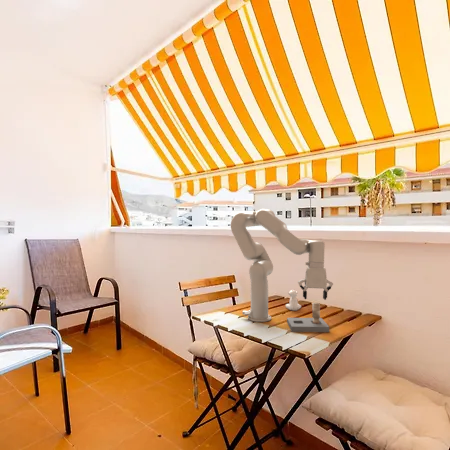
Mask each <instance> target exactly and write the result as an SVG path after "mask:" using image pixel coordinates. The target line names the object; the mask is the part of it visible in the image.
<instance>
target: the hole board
mask: <svg viewBox="0 0 450 450" xmlns="http://www.w3.org/2000/svg"><path fill="white" fill-rule="evenodd" d="M286 323H287V325H288V327H289V329H290V331H291V332H292V333H299V332H300V333H330V326H329V325H328V323H327V322H326V321H325V320H324V319H323V318H322V317H320V318H319V324H313V317H287V318H286Z"/></svg>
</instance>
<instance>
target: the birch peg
mask: <svg viewBox="0 0 450 450" xmlns="http://www.w3.org/2000/svg"><path fill="white" fill-rule="evenodd" d="M311 318H313V324H319V318H321V304H320V302H312V317H311Z"/></svg>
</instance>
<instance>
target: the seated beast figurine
mask: <svg viewBox="0 0 450 450" xmlns="http://www.w3.org/2000/svg"><path fill="white" fill-rule="evenodd" d="M298 293H299V292H298V291H297V290H295V289H291V290H290V291H288V292H287V294H288V295H289V297H290V298H289V303H286V304H285V309H287V310H290V311H293V312H294V311H295V312H297V311H298V310H300V309H301V308H302V305H301V304H299V301H298V298H297V295H298Z"/></svg>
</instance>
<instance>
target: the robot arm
mask: <svg viewBox="0 0 450 450" xmlns="http://www.w3.org/2000/svg"><path fill="white" fill-rule="evenodd" d="M259 226H261V227H262V228H264V229H265V230H267V231H268V232H269V233H270V234H272V235H273V236H274V237H275V238H276V239H277V241H279V243H280V244H282V246H283V247H285V248H286V249H287V250H288V251H290V252H291V253H293V254H294V255H298V256H301V255H304V254H308V260H307V262H305V264H304V265H305V266H307V267H306V269H305V276H304V278H302V279H300V280H299V281H297V284H298V286H299V287H300V289H301V290H302V297H303V299H304V300H306V299H308V298H307V297H308V296H307V295H308V292H307V290H308V289H323V291H322V299H323V300H324V301H326V300H327V299H328V292H329V290H331V289H332V287H333V285H334V283H333V282H332V281H330V280H328V278H327V269H326V267H325V264H324V263H325V249H326V248H325V247H326V245H325V242H324V241H323V240H315V239H312V240H310V239H305V238H298V237H297V236H296V235H295V234H294V233H292V232H291V231H290V230H289V229H288V226H287V224H286V223H285V222H284V221H283V220H282V219H280V218H279V217H277V216H276V214H275V212H274V211H273V210H271V209H269V208H261V209H259V210H257V211H239V212H236V214H234V215H233V217H232V219H231V221H230V231H231V232H232V235H233V237H234V239H235V241H236V243H237V246H238V248H239V249H240V251H241V254H242V256H243V257H244V259H246V260H247V261H253V262H252V264H251V265H250V266H249V269H248V272H249V273H248V274H249V280H250V309H249V310H242V315H244V316H247V319H248V320H250V321H251V322H255V323H265V322H269V321H271V320H272V316H271V315H270V314H269V282H268V281H269V280H268V276H270V275H271V274H272V273H273V271H274V265H273V263H272V259H271V258H270V256H269V254H268V253H267V250H266V248H265V247H264V246H263V245H262V244H261V243H260V242H257V241H256V242H255V241H254V239H253V237H252V235H251V234H250V232H249V230H248V229H247V228H249V227H251V228H252V227H259ZM302 284H304V286H303V285H302ZM327 284H328V285H327Z"/></svg>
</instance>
